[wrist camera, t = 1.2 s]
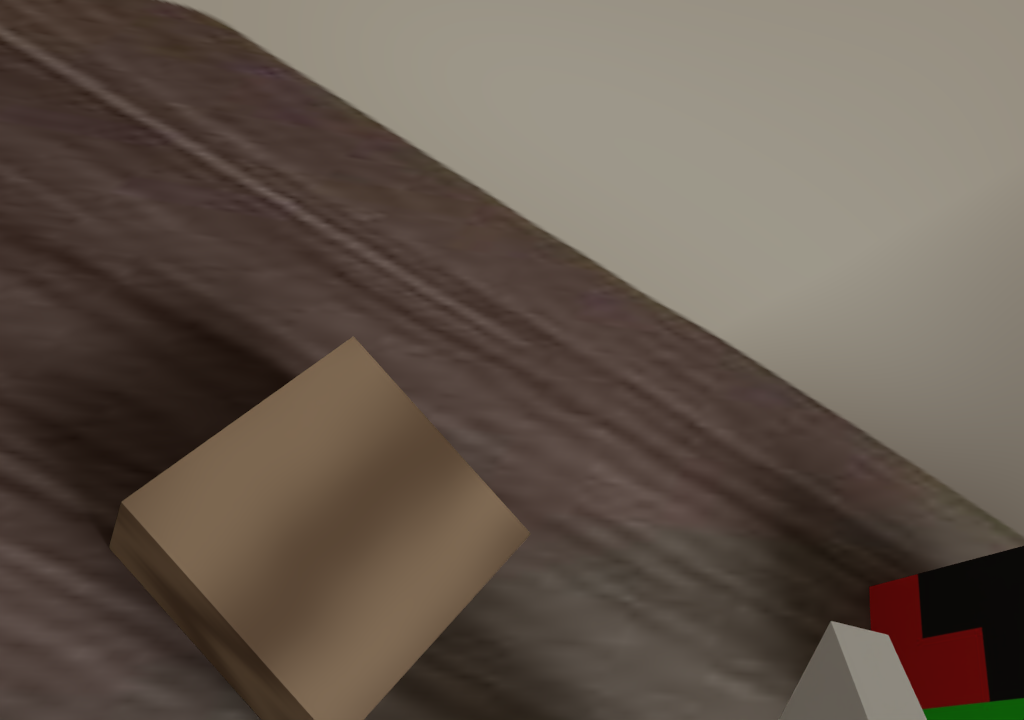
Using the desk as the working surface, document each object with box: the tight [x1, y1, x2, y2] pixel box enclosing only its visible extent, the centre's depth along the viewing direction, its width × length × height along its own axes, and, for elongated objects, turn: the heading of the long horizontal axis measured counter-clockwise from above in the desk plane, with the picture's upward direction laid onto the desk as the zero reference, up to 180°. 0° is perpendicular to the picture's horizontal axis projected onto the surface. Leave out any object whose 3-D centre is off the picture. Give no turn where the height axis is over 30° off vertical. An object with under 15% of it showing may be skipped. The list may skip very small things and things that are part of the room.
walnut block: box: [109, 336, 530, 720], centre depth 31 cm, size 10×10×6 cm
